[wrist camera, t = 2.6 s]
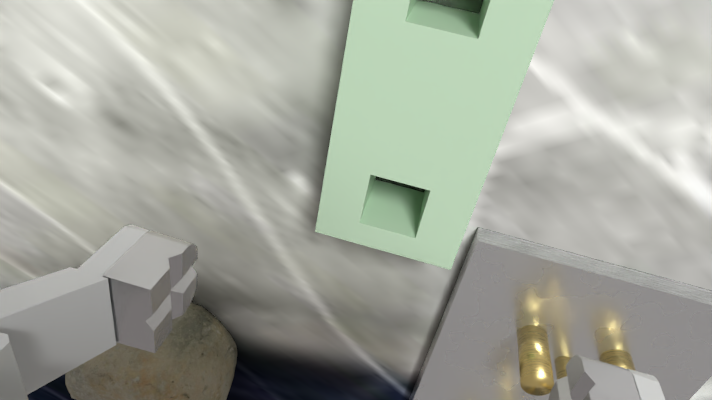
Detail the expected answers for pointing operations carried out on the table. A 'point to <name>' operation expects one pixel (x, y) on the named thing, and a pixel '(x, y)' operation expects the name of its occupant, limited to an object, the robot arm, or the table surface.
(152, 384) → the stone
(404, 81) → the board
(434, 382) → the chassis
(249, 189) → the table surface
